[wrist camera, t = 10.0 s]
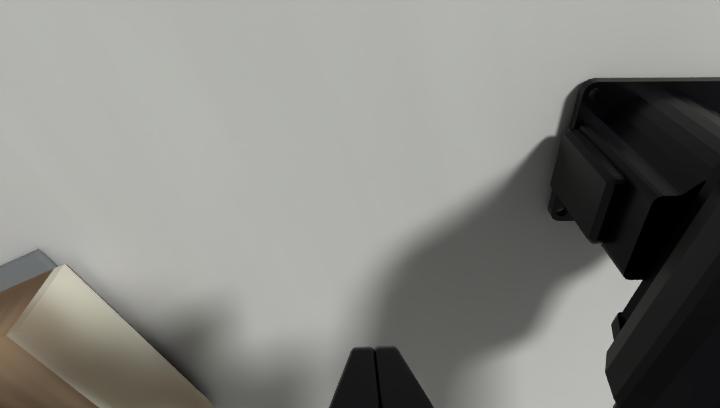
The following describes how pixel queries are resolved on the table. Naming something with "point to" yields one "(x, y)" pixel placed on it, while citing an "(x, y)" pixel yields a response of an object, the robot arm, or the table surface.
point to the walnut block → (79, 352)
